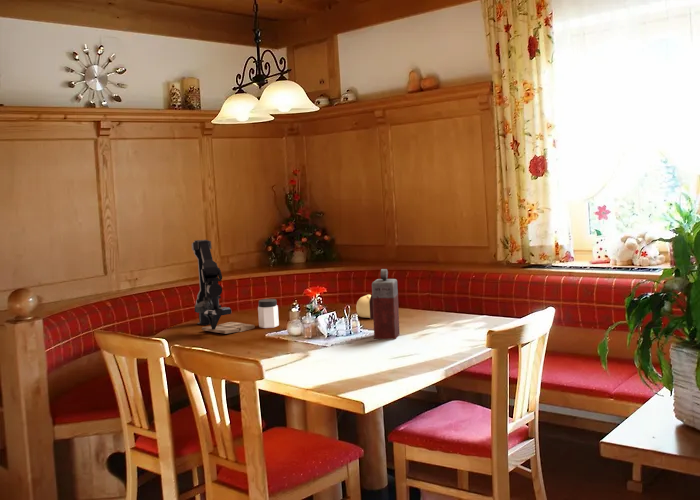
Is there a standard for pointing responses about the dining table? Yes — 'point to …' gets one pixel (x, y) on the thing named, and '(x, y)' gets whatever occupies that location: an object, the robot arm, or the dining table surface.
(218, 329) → the plank
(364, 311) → the sculpture
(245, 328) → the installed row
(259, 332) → the dining table surface
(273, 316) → the jar
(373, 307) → the red grey rectangular bottle
